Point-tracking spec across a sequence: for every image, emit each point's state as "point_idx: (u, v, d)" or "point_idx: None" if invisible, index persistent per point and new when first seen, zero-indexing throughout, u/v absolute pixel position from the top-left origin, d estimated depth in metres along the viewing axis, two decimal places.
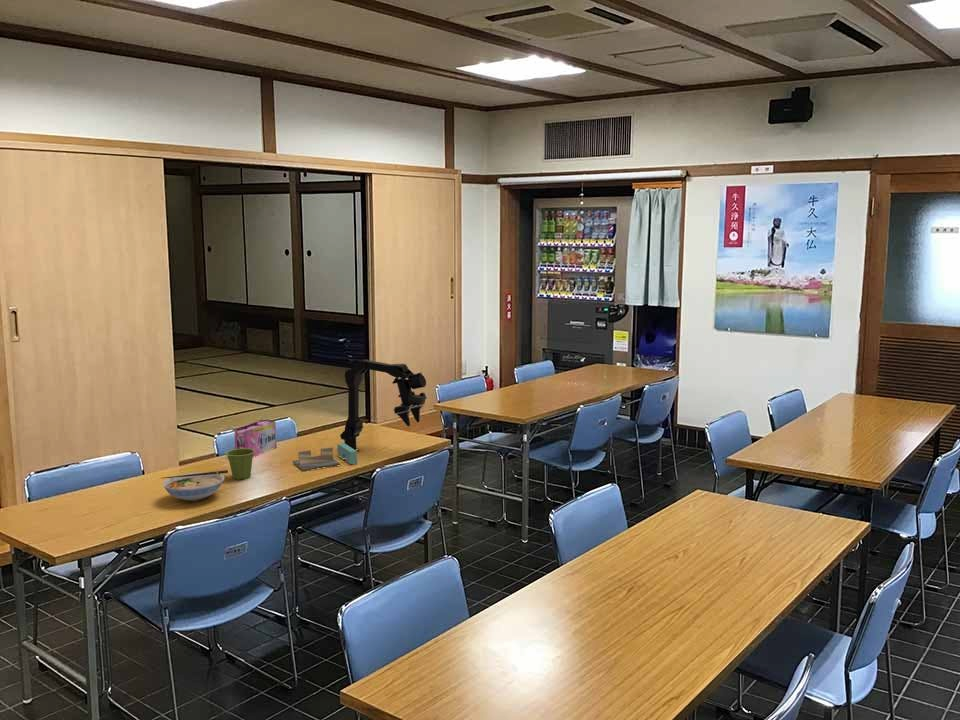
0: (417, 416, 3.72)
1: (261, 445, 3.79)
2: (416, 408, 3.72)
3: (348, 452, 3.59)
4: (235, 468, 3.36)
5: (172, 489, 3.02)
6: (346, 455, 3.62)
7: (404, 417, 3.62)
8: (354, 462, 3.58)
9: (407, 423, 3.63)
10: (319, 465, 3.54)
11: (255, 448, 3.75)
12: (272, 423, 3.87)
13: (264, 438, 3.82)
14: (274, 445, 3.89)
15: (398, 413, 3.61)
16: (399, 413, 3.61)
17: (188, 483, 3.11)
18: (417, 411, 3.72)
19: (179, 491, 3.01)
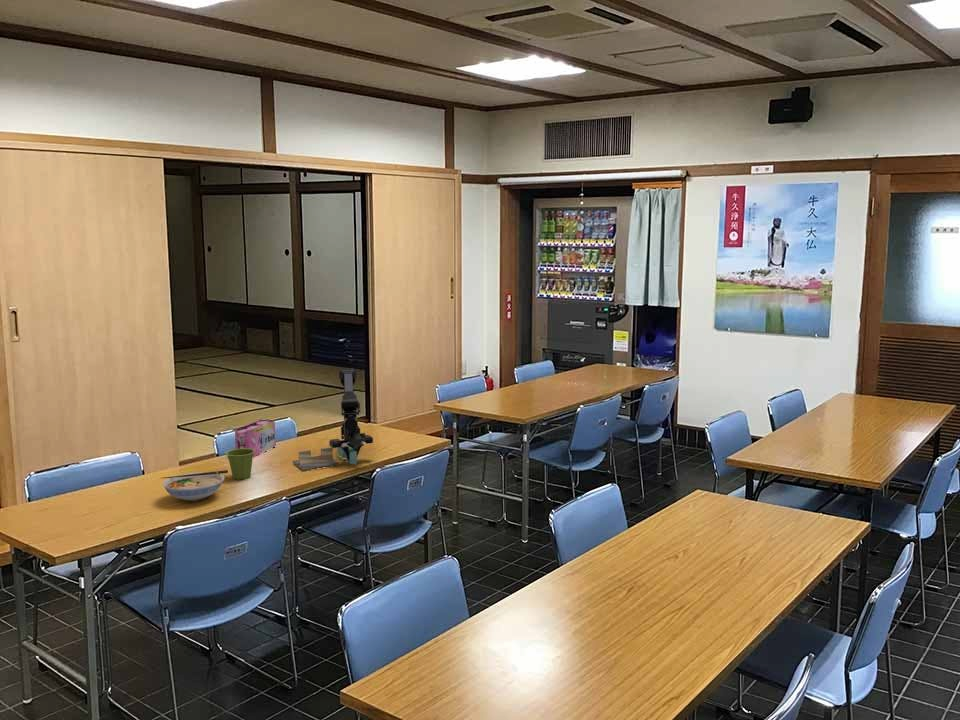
0: None
1: (261, 445, 3.80)
2: (356, 445, 3.60)
3: None
4: (235, 468, 3.36)
5: (172, 489, 3.02)
6: None
7: (345, 451, 3.59)
8: (354, 462, 3.58)
9: (346, 457, 3.59)
10: (319, 465, 3.54)
11: (255, 448, 3.75)
12: (271, 423, 3.88)
13: (264, 437, 3.82)
14: (273, 445, 3.90)
15: None
16: None
17: (188, 483, 3.11)
18: (356, 449, 3.60)
19: (179, 491, 3.01)
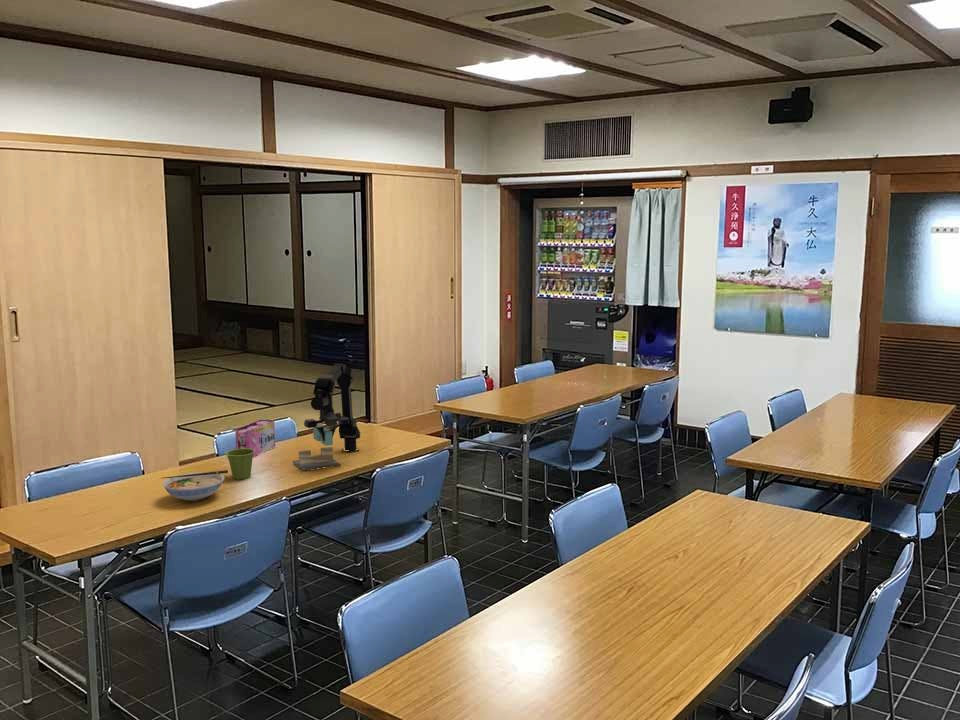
0: None
1: (262, 445, 3.80)
2: (332, 426, 3.53)
3: None
4: (235, 468, 3.36)
5: (172, 489, 3.02)
6: None
7: (320, 431, 3.52)
8: (330, 443, 3.51)
9: (322, 438, 3.52)
10: (319, 465, 3.54)
11: (256, 448, 3.75)
12: (271, 423, 3.88)
13: (264, 437, 3.82)
14: (273, 445, 3.90)
15: None
16: None
17: (188, 483, 3.11)
18: (331, 429, 3.53)
19: (179, 491, 3.01)
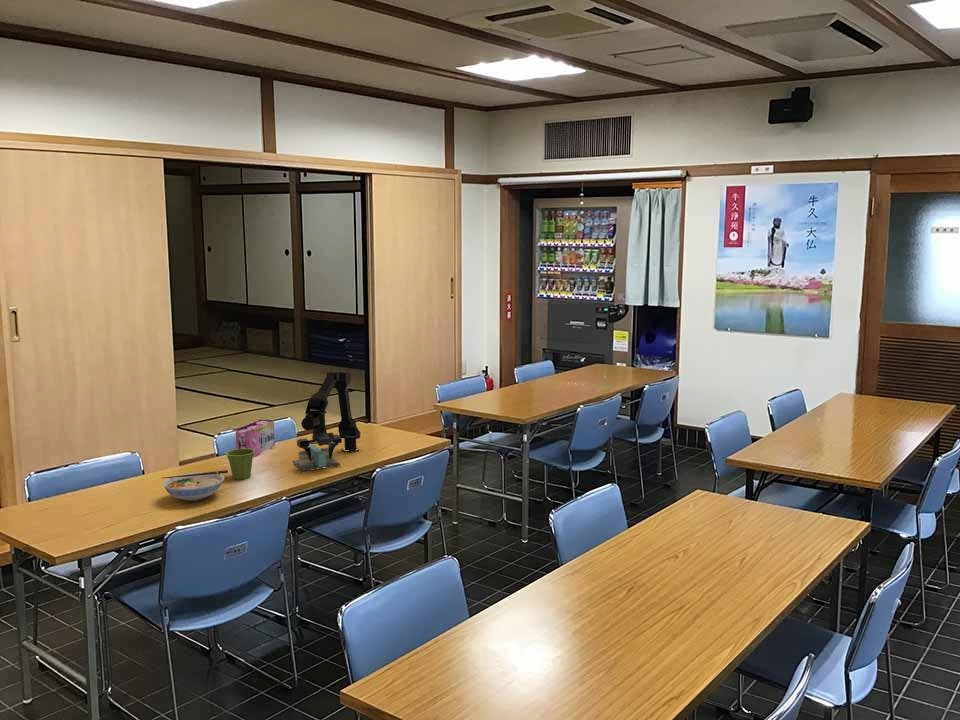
0: (329, 453, 3.54)
1: (262, 445, 3.80)
2: (330, 445, 3.54)
3: (316, 454, 3.52)
4: (235, 468, 3.36)
5: (172, 489, 3.02)
6: (315, 457, 3.55)
7: (307, 451, 3.50)
8: (322, 464, 3.51)
9: (309, 458, 3.51)
10: None
11: (256, 448, 3.75)
12: (271, 423, 3.88)
13: (264, 437, 3.82)
14: (273, 445, 3.90)
15: None
16: None
17: (188, 483, 3.11)
18: (330, 448, 3.54)
19: (179, 491, 3.01)
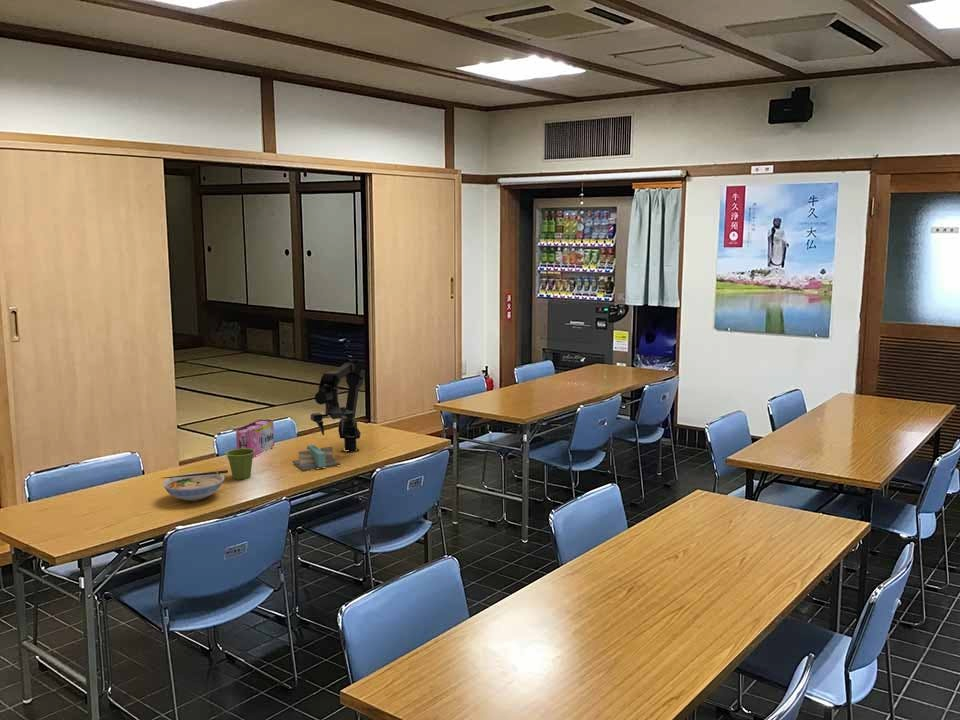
0: (342, 427, 3.67)
1: (262, 444, 3.80)
2: (343, 419, 3.66)
3: (316, 454, 3.52)
4: (235, 468, 3.36)
5: (172, 489, 3.02)
6: (315, 457, 3.55)
7: (319, 425, 3.63)
8: (322, 464, 3.51)
9: (321, 432, 3.63)
10: None
11: (257, 448, 3.76)
12: (270, 422, 3.89)
13: (264, 437, 3.83)
14: (272, 444, 3.91)
15: None
16: None
17: (188, 483, 3.11)
18: (343, 422, 3.66)
19: (179, 491, 3.01)
